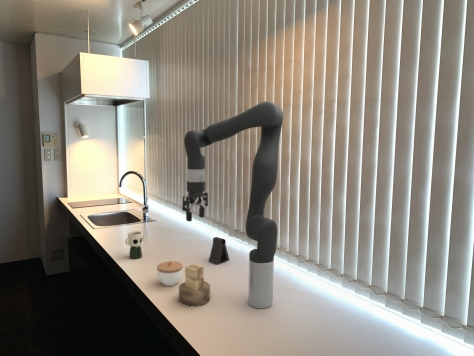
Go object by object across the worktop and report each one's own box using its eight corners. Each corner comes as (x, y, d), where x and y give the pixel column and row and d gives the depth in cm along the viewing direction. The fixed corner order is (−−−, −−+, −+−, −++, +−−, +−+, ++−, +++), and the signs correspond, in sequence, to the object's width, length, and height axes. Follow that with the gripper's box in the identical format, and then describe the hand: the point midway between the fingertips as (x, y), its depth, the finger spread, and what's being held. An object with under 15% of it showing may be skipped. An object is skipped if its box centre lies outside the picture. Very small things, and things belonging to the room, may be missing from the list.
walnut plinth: (192, 289, 144) (192, 277, 144) (216, 296, 138) (216, 284, 137) (172, 301, 134) (172, 288, 133) (197, 309, 128) (197, 296, 127)
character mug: (129, 261, 174) (129, 236, 173) (122, 258, 179) (121, 233, 178) (148, 256, 182) (148, 232, 181) (141, 253, 187) (141, 229, 185)
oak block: (193, 282, 139) (193, 263, 138) (203, 285, 136) (203, 266, 135) (185, 287, 135) (185, 267, 134) (195, 290, 132) (195, 270, 131)
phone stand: (217, 265, 172) (217, 241, 170) (208, 262, 175) (208, 238, 174) (229, 260, 178) (229, 237, 177) (221, 257, 182) (221, 235, 181)
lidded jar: (167, 290, 143) (167, 268, 142) (152, 283, 150) (151, 262, 149) (187, 282, 151) (187, 261, 150) (172, 275, 158) (172, 255, 157)
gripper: (199, 177, 150) (198, 214, 152) (177, 180, 138) (177, 221, 140) (213, 179, 146) (212, 217, 148) (192, 182, 134) (192, 223, 136)
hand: (195, 219), depth 144 cm, fingers open, 8 cm apart
